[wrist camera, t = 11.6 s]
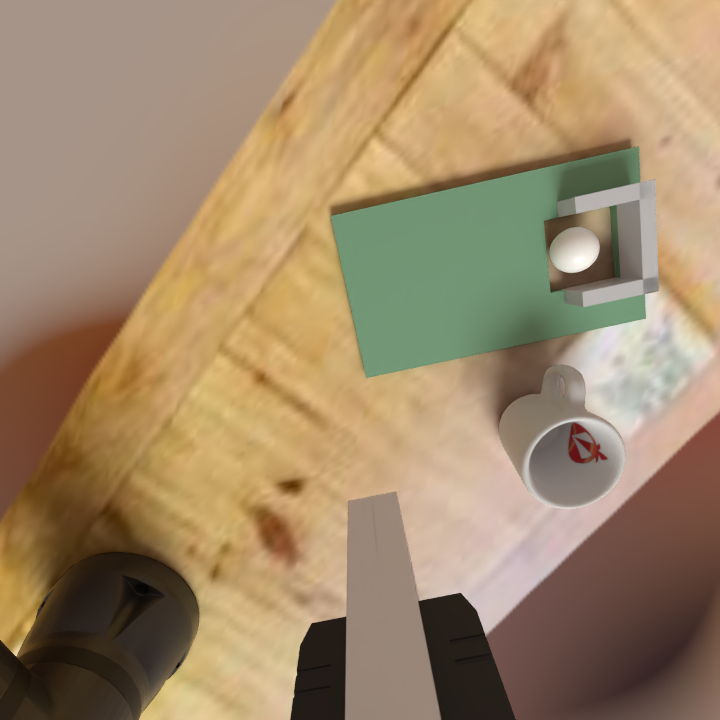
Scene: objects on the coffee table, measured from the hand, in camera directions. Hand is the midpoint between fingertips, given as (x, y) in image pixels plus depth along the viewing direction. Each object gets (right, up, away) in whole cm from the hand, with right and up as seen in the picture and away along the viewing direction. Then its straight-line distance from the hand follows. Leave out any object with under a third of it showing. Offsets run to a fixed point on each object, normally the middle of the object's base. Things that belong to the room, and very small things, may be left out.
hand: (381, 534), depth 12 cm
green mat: (+11, +13, +22) cm, 28 cm away
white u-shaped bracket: (+19, +15, +22) cm, 33 cm away
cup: (+16, +1, +26) cm, 30 cm away
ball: (+17, +14, +20) cm, 30 cm away
